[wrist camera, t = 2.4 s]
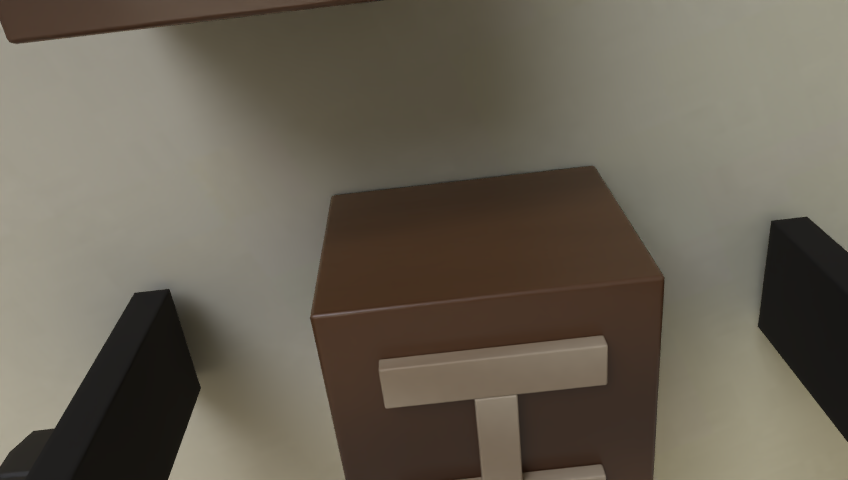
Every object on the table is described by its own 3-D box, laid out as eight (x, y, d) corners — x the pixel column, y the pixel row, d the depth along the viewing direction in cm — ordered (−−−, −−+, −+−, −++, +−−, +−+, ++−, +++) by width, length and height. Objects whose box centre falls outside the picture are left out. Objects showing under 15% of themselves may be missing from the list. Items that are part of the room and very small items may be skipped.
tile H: (330, 194, 15) (306, 327, 11) (595, 163, 15) (673, 286, 11) (368, 398, 18) (360, 569, 14) (594, 373, 18) (657, 539, 14)
